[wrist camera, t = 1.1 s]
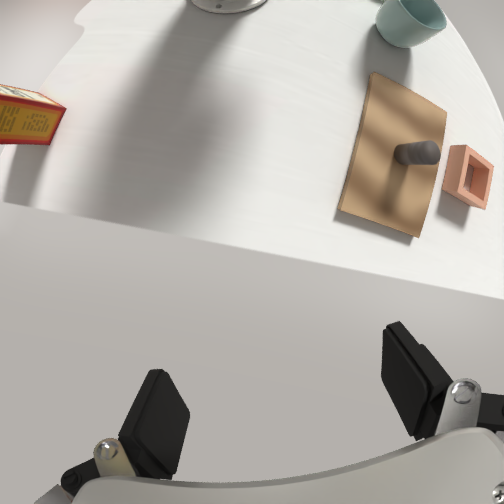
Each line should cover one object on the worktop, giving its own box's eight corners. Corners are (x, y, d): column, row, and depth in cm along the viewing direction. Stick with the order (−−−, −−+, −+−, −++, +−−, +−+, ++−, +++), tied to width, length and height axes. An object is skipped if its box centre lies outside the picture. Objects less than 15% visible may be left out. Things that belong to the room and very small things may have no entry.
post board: (370, 75, 28) (396, 54, 20) (441, 113, 29) (476, 106, 21) (337, 208, 34) (360, 219, 26) (413, 235, 35) (446, 252, 26)
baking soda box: (23, 126, 30) (-42, 123, 15) (38, 92, 29) (-26, 79, 13) (49, 145, 32) (-25, 145, 16) (66, 108, 30) (-6, 94, 15)
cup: (398, 14, 24) (426, -13, 15) (421, 52, 26) (456, 31, 17) (360, 15, 25) (384, -17, 16) (384, 56, 27) (417, 30, 18)
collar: (450, 145, 30) (466, 144, 27) (478, 164, 31) (493, 166, 27) (441, 189, 32) (457, 192, 29) (469, 205, 33) (485, 209, 29)
